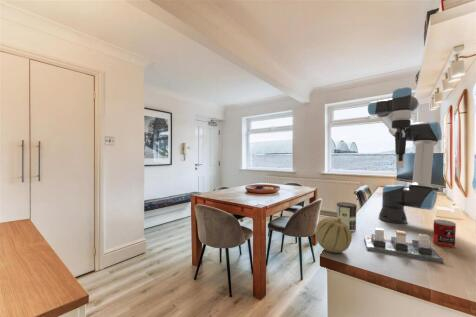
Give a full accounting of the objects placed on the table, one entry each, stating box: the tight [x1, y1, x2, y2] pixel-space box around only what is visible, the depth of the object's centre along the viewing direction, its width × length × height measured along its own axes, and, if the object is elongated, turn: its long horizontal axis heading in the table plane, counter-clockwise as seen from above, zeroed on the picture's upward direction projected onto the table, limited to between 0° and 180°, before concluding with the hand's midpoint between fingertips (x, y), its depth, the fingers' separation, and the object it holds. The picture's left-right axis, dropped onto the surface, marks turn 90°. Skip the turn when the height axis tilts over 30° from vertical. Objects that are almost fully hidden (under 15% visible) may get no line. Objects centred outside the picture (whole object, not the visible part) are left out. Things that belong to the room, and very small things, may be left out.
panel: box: [363, 227, 444, 264], centre depth 98 cm, size 14×26×9 cm, turn 65°
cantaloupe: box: [314, 216, 353, 254], centre depth 96 cm, size 15×15×15 cm
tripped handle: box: [395, 229, 407, 244], centre depth 95 cm, size 2×3×5 cm
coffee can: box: [336, 201, 358, 232], centre depth 126 cm, size 10×10×14 cm
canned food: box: [432, 219, 457, 249], centre depth 104 cm, size 8×8×11 cm
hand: (399, 167), depth 108 cm, fingers closed
